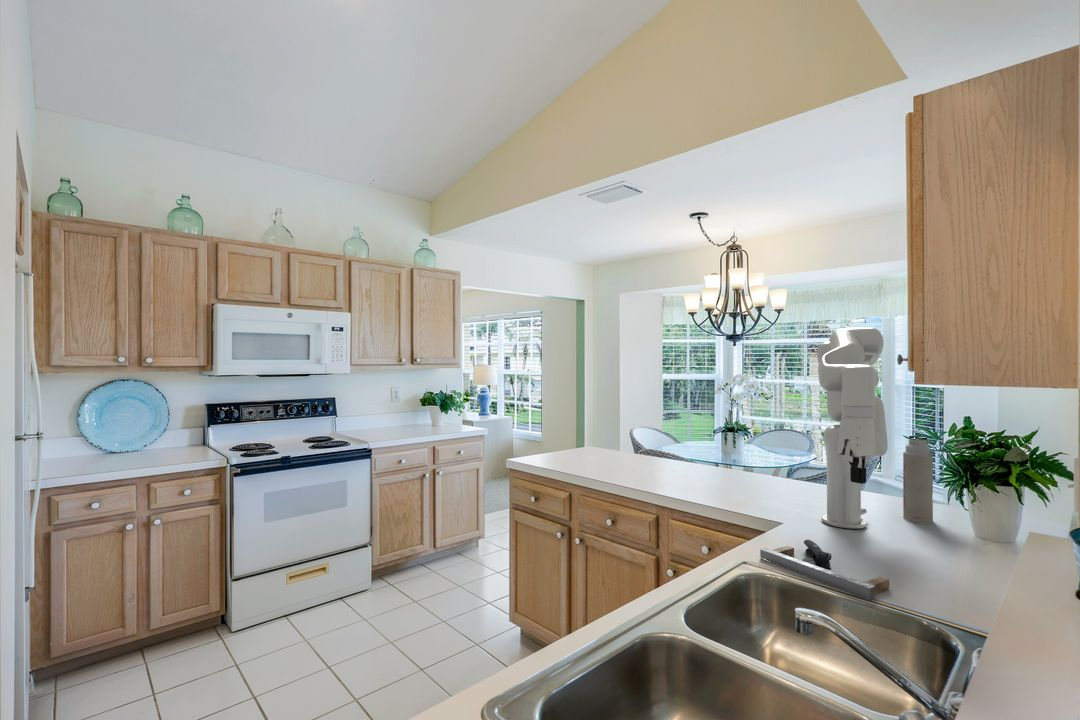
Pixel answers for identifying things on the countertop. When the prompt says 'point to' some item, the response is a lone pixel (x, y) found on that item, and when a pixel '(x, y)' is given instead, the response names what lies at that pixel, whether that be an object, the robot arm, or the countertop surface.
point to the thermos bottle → (918, 482)
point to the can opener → (817, 555)
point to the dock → (825, 574)
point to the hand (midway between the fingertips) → (858, 482)
